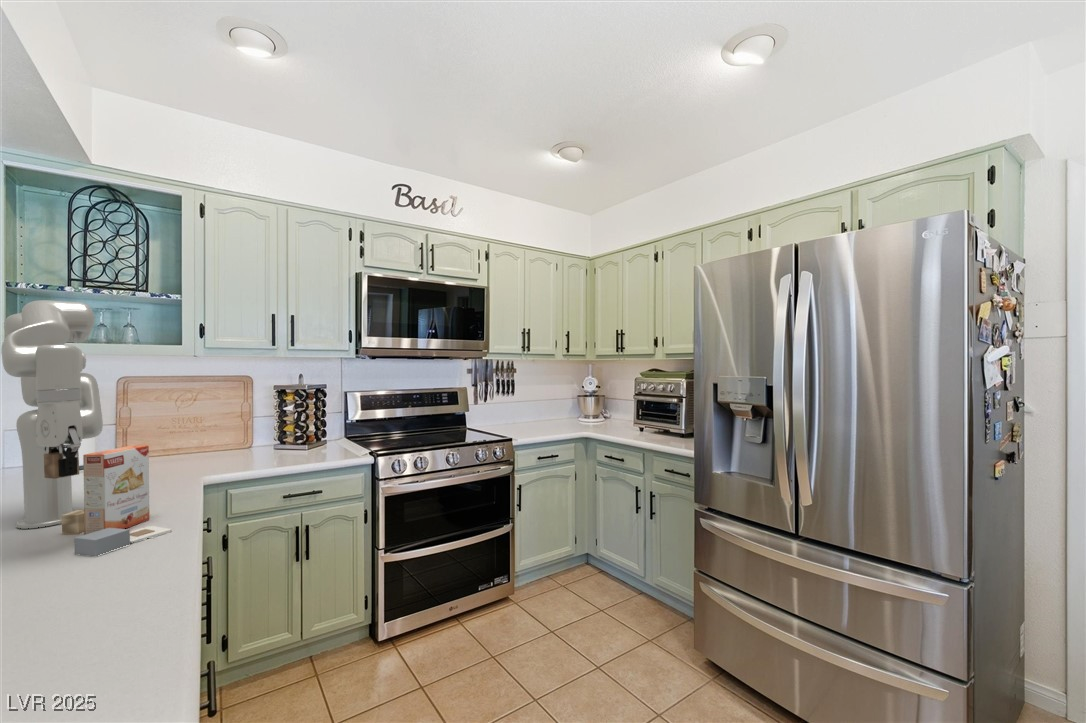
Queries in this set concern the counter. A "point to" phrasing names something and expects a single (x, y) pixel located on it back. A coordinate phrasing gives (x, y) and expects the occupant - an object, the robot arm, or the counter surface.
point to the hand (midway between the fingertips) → (62, 474)
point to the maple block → (73, 522)
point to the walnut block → (54, 465)
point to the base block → (101, 541)
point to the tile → (147, 533)
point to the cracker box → (116, 488)
